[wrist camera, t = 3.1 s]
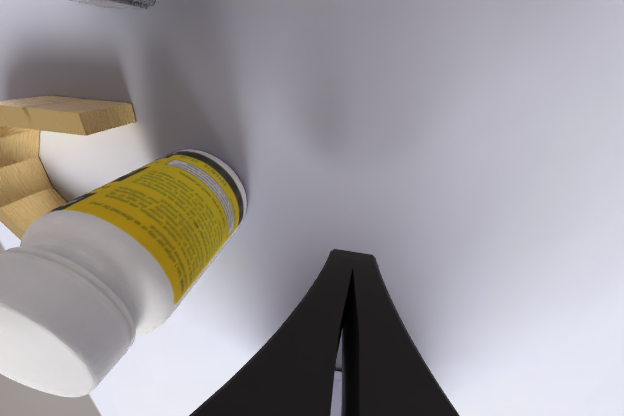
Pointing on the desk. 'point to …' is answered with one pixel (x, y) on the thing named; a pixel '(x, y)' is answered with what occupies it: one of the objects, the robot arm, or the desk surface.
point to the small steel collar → (119, 3)
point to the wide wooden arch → (25, 148)
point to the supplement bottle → (111, 269)
